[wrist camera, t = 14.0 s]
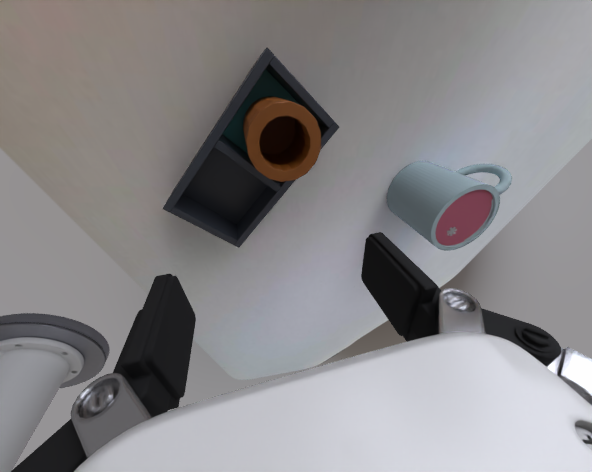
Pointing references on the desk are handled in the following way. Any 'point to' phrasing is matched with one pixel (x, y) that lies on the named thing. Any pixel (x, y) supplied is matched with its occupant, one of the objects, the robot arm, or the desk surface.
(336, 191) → the desk surface
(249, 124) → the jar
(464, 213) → the mug
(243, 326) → the desk surface
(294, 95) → the divided tray
